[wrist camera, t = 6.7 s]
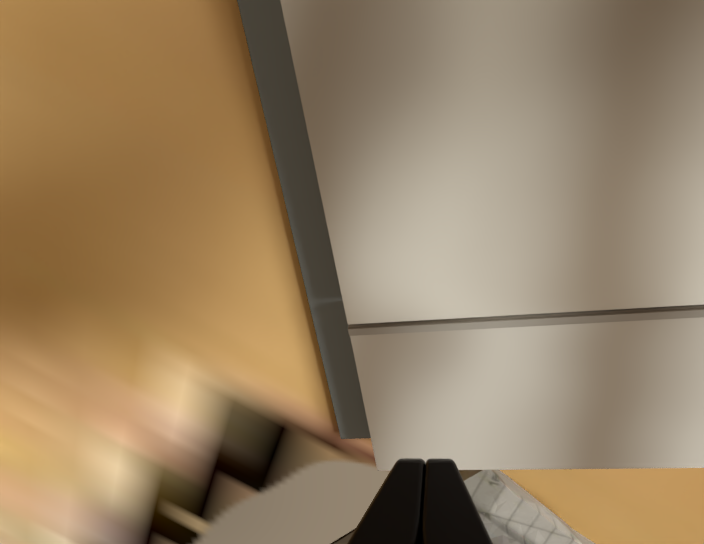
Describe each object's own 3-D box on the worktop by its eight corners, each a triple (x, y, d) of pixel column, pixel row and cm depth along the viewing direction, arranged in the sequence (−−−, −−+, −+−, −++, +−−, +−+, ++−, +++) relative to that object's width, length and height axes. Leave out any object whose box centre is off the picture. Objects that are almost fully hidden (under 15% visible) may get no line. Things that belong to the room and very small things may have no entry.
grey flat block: (953, 260, 16) (998, 293, 15) (892, 428, 19) (925, 468, 18) (354, 298, 19) (347, 329, 18) (381, 438, 22) (377, 473, 21)
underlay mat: (1309, -467, 10) (1331, -476, 10) (943, 419, 19) (949, 427, 19) (193, -201, 14) (189, -203, 13) (342, 432, 23) (341, 438, 23)
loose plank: (1134, -222, 11) (1221, -235, 10) (955, 256, 16) (997, 287, 15) (283, -64, 14) (267, -59, 13) (354, 295, 19) (347, 324, 18)
